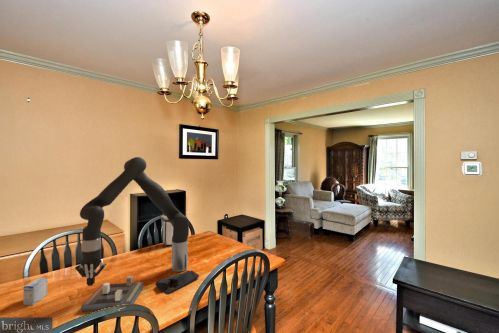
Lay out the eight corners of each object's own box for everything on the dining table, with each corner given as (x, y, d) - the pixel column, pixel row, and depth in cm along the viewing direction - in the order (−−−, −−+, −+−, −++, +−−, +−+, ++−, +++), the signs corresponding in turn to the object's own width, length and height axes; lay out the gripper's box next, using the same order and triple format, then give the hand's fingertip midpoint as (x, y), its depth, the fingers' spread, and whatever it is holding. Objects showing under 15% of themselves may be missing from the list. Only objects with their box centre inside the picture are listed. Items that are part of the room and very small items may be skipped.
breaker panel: (143, 287, 117) (143, 274, 117) (131, 308, 101) (131, 292, 101) (101, 290, 114) (101, 276, 114) (81, 312, 98) (81, 295, 98)
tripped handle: (109, 290, 108) (109, 282, 108) (107, 293, 106) (107, 285, 106) (105, 291, 108) (105, 282, 108) (102, 294, 106) (102, 285, 106)
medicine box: (37, 295, 109) (37, 277, 109) (47, 295, 110) (47, 277, 110) (22, 305, 102) (22, 286, 102) (33, 305, 102) (33, 286, 102)
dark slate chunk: (203, 280, 126) (203, 272, 126) (165, 296, 111) (165, 287, 111) (188, 271, 137) (188, 263, 137) (151, 285, 121) (152, 276, 121)
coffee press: (170, 249, 171) (170, 209, 170) (157, 244, 179) (157, 207, 179) (188, 242, 185) (188, 206, 185) (175, 239, 194) (175, 204, 193)
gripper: (110, 244, 111) (109, 280, 111) (80, 245, 109) (80, 281, 109) (102, 250, 103) (101, 288, 103) (70, 251, 101) (70, 290, 101)
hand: (90, 285), depth 106 cm, fingers closed
